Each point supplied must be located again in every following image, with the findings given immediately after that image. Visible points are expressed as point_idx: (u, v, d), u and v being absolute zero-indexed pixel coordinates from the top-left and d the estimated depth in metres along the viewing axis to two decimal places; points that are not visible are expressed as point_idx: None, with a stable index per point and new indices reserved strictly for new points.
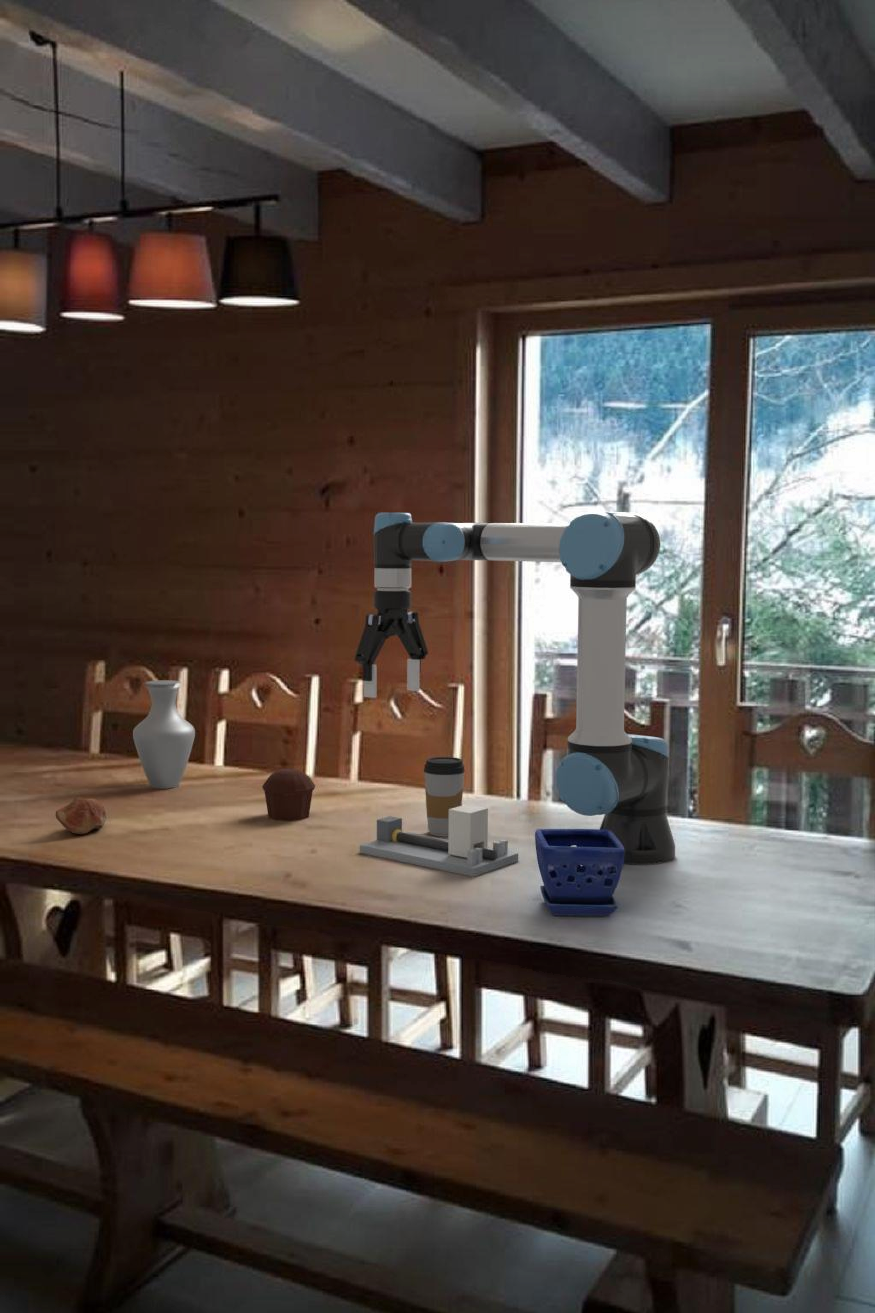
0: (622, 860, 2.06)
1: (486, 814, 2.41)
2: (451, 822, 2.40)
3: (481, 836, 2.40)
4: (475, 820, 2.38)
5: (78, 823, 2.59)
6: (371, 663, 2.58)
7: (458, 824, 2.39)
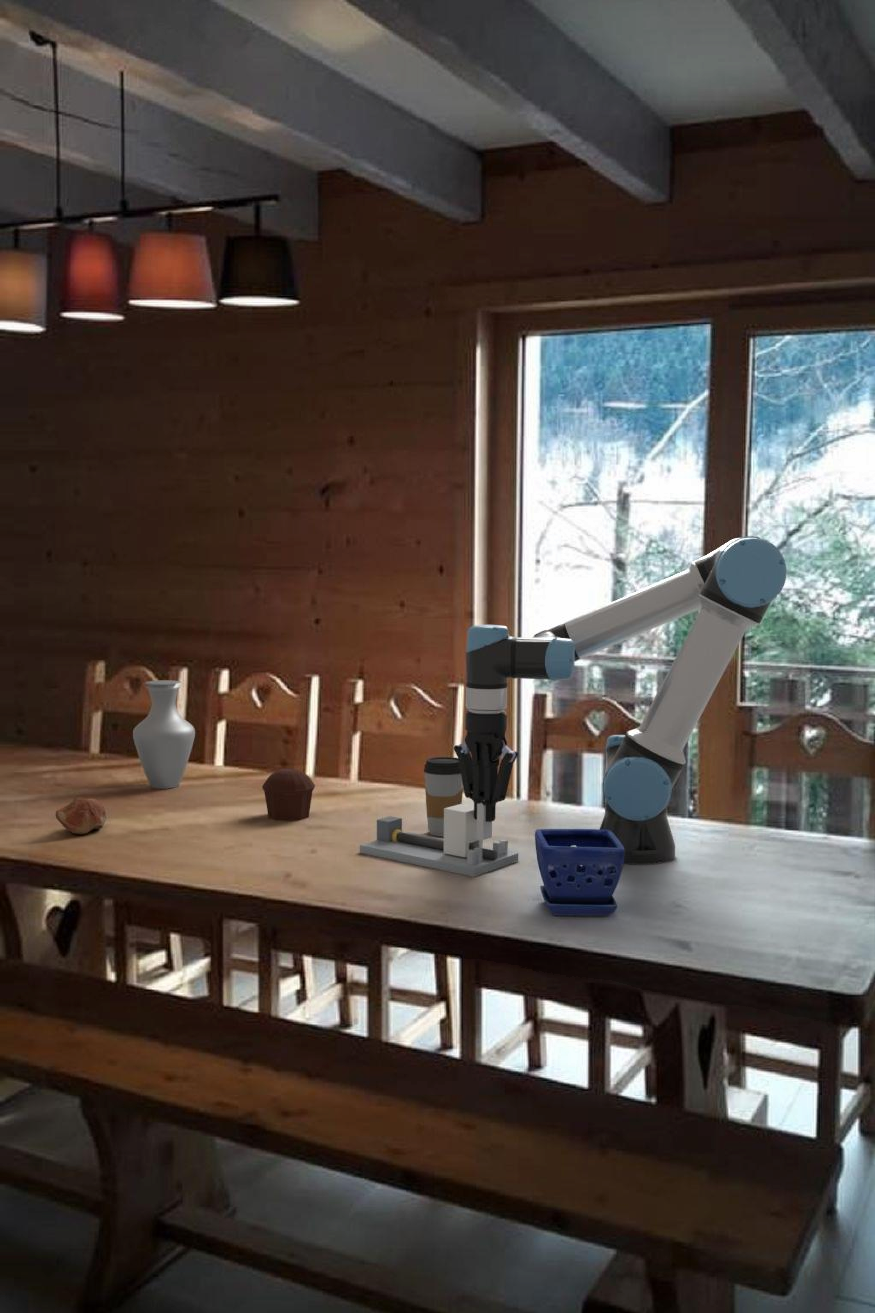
0: (622, 860, 2.06)
1: None
2: (446, 821, 2.40)
3: None
4: (471, 819, 2.39)
5: (78, 823, 2.59)
6: (475, 801, 2.38)
7: (453, 823, 2.40)
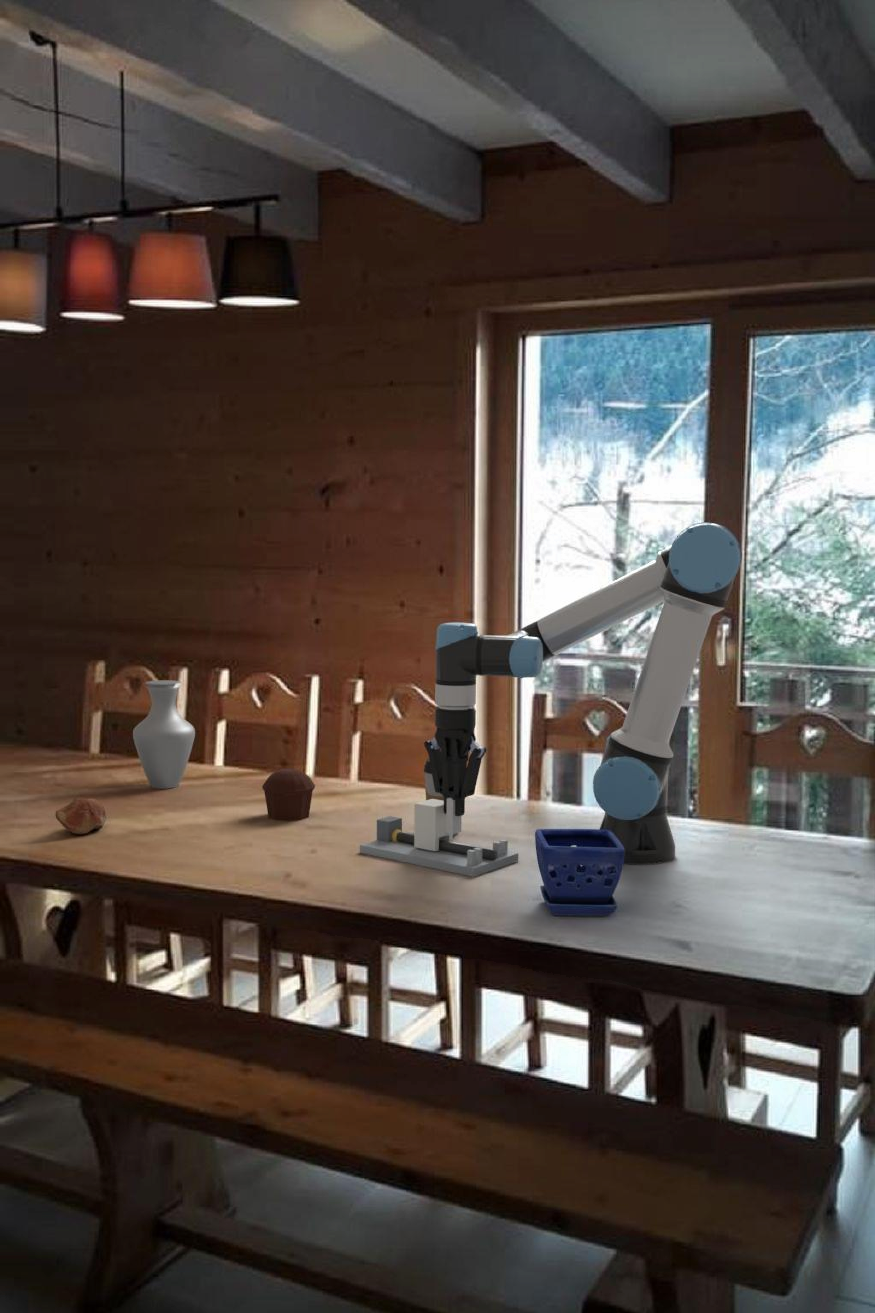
0: (622, 860, 2.06)
1: None
2: (417, 816, 2.45)
3: None
4: (441, 813, 2.43)
5: (78, 823, 2.59)
6: (444, 796, 2.42)
7: (423, 817, 2.44)
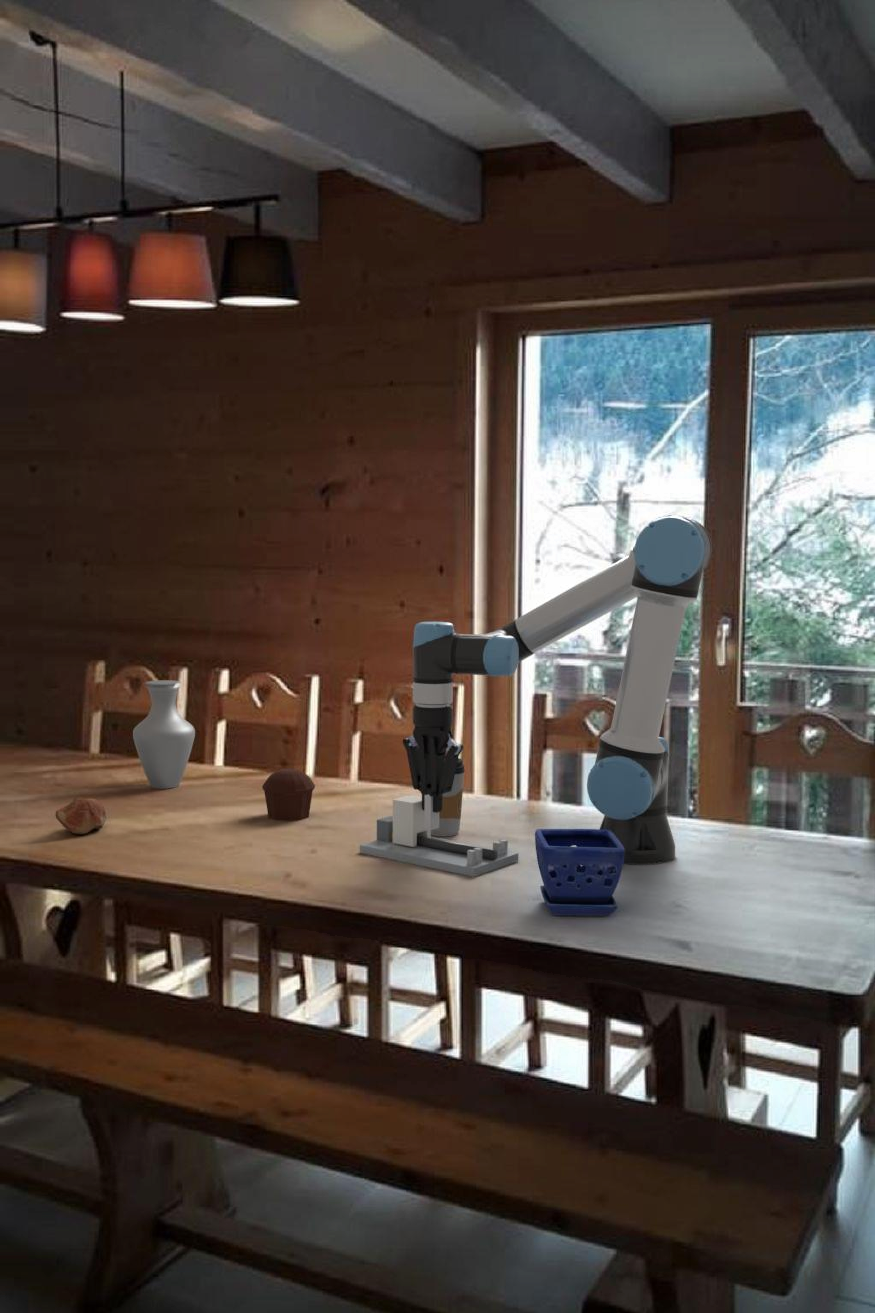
0: (622, 860, 2.06)
1: None
2: (395, 812, 2.48)
3: None
4: (418, 809, 2.47)
5: (78, 823, 2.59)
6: (422, 792, 2.45)
7: (401, 813, 2.47)
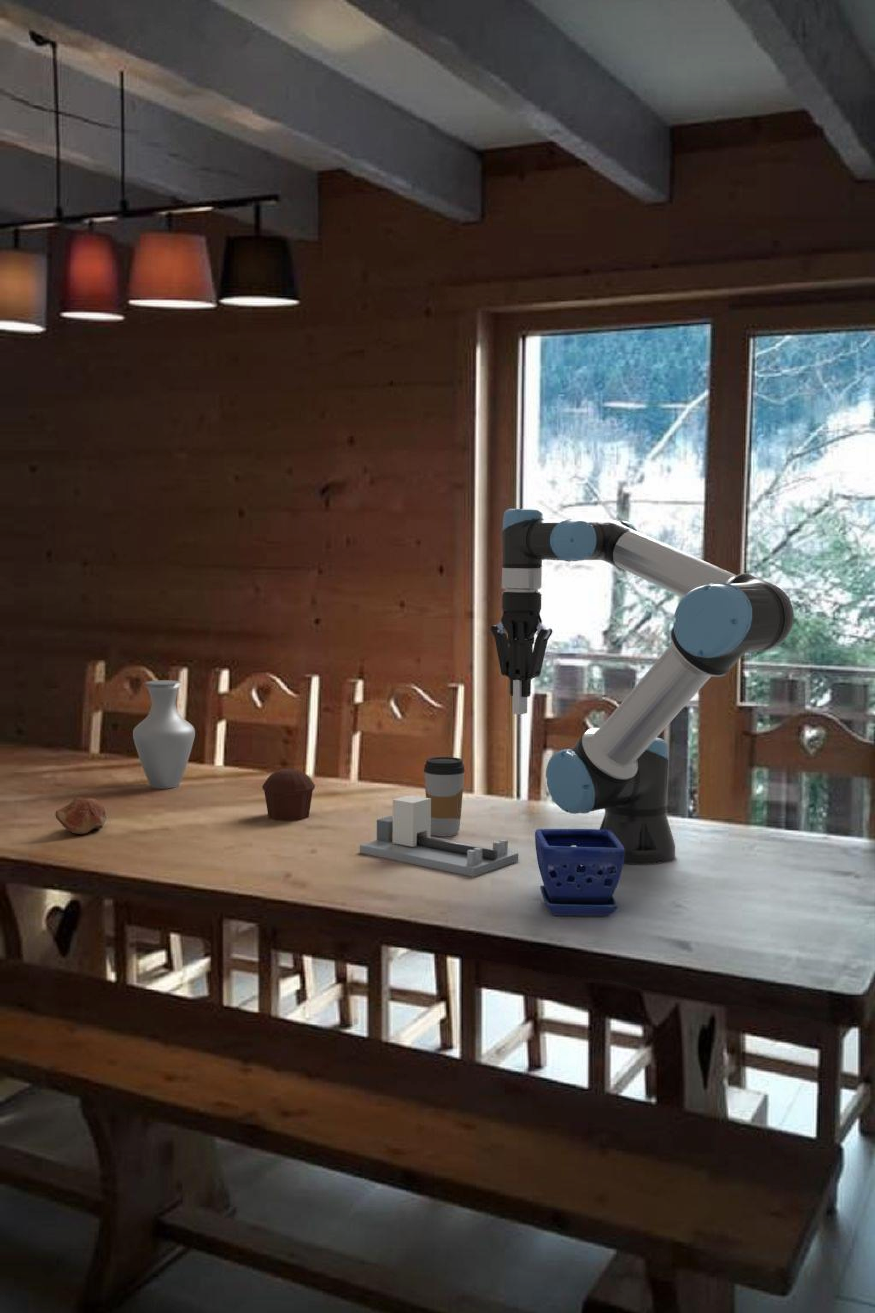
0: (622, 860, 2.06)
1: (429, 804, 2.49)
2: (395, 812, 2.48)
3: (424, 825, 2.48)
4: (418, 809, 2.47)
5: (78, 823, 2.59)
6: (511, 678, 2.49)
7: (401, 813, 2.47)
